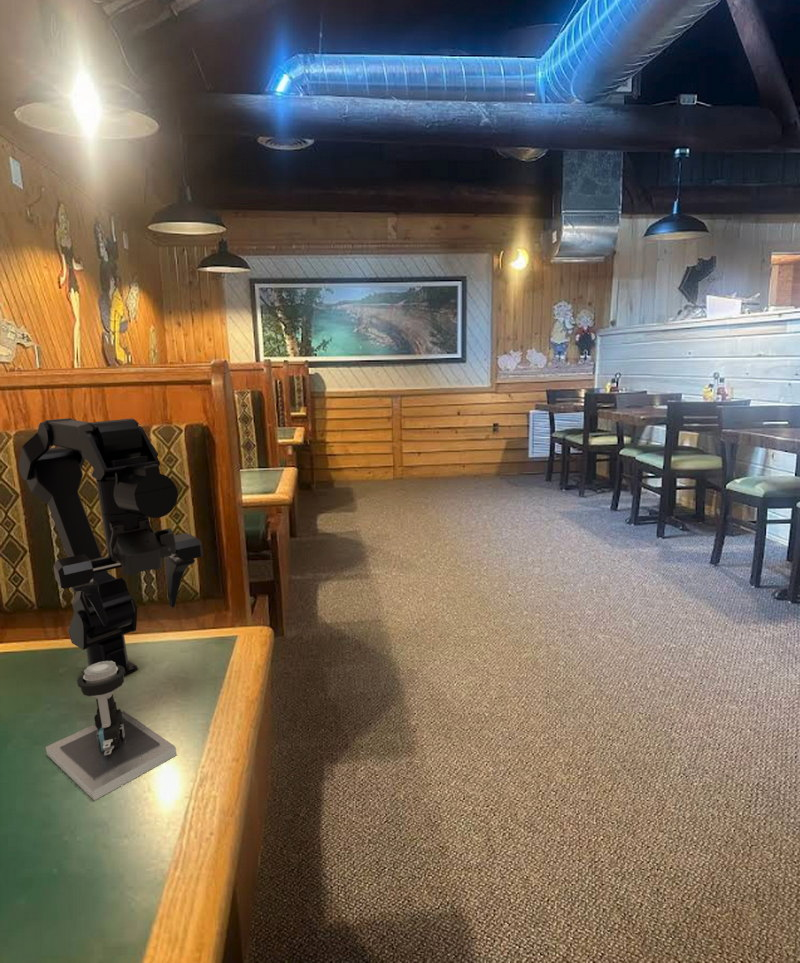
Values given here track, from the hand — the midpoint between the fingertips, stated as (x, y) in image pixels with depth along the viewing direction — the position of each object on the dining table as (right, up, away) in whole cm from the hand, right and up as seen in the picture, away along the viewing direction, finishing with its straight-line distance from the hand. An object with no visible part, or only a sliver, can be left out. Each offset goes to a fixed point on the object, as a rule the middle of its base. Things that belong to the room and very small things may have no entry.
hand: (139, 615), depth 87 cm
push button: (+1, -14, -11) cm, 18 cm away
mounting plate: (+1, -15, -11) cm, 19 cm away
